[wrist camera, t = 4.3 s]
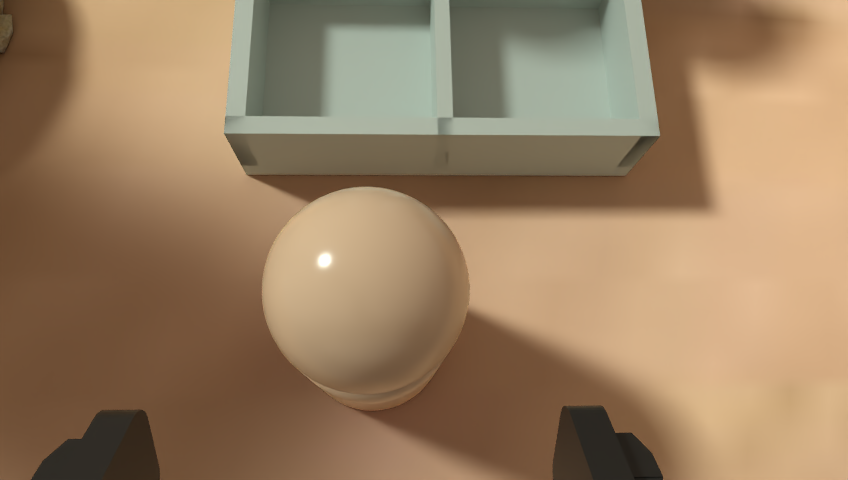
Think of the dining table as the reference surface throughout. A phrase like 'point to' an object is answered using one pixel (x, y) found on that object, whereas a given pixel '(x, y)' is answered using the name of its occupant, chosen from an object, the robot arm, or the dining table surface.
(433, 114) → the carton
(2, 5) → the bread roll
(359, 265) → the cream dome-topped cylinder
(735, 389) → the dining table surface
